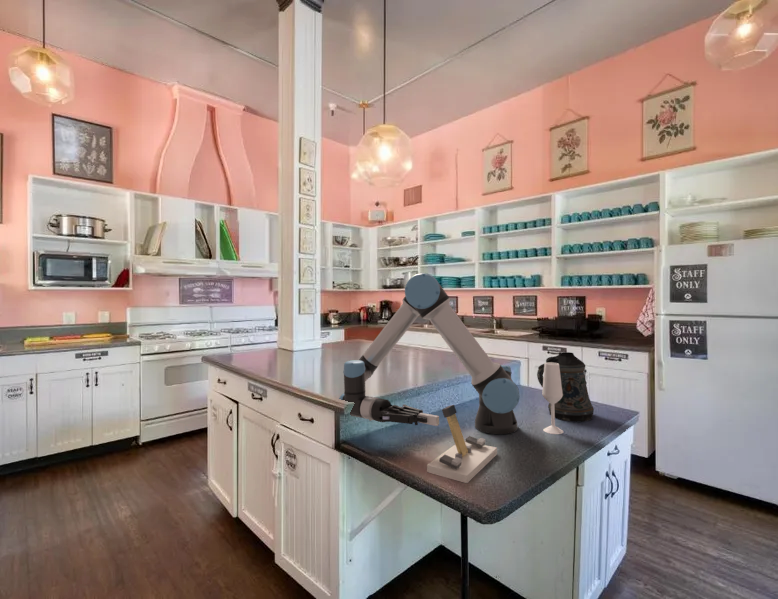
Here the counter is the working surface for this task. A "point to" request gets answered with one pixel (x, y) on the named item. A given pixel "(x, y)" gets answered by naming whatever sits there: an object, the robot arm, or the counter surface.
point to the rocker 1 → (451, 461)
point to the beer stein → (570, 389)
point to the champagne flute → (552, 392)
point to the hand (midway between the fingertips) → (437, 421)
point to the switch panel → (463, 462)
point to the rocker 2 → (476, 441)
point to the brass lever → (455, 429)
